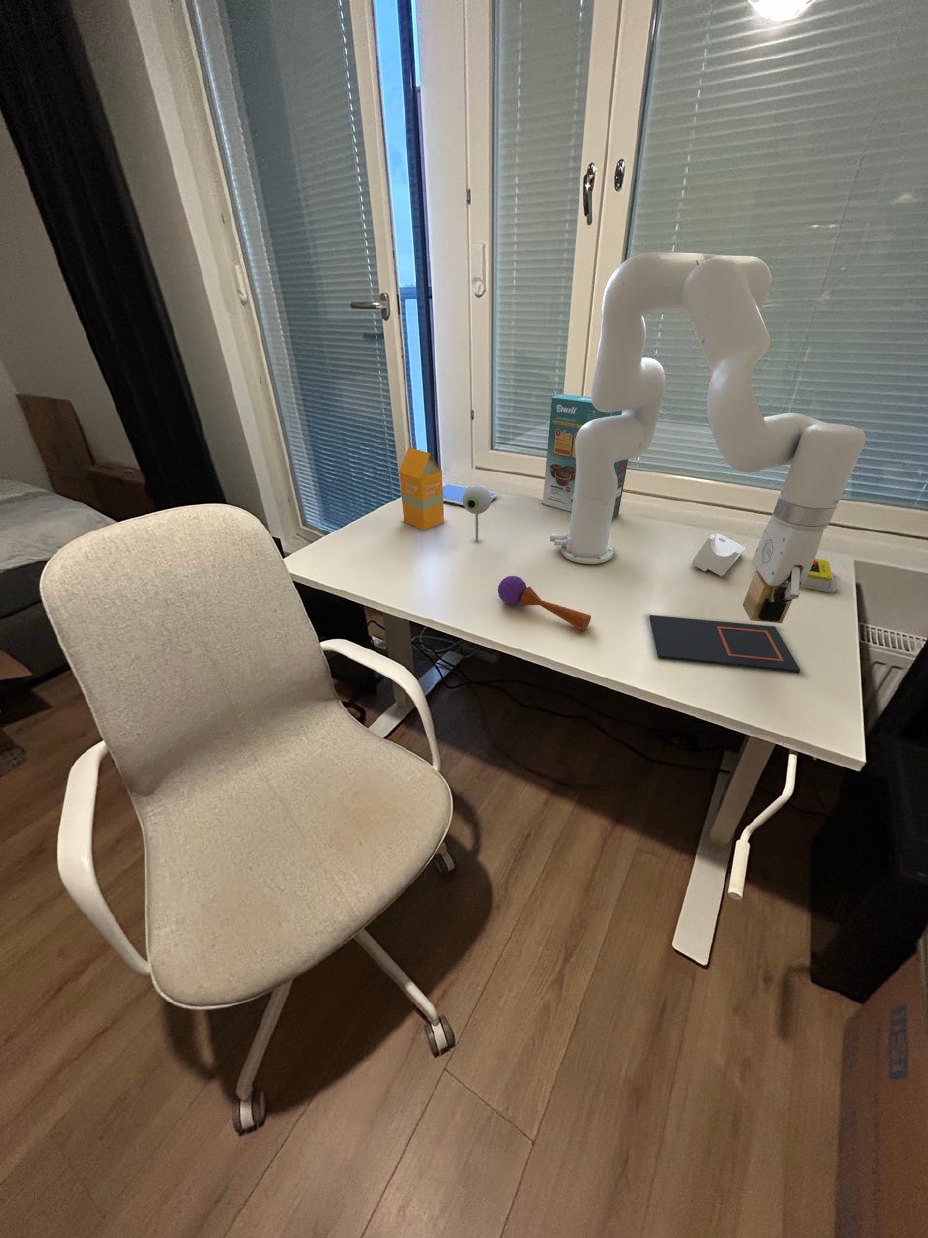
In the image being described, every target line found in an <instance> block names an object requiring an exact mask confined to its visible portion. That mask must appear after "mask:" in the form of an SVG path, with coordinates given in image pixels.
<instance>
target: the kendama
mask: <svg viewBox="0 0 928 1238" xmlns="http://www.w3.org/2000/svg"><path fill="white" fill-rule="evenodd" d="M497 593H498V597H499V598H500V600H501V601H502V602H504V603H505V604H508V605H518V604H520V606H524V607H525V606H540V607H541V608H543V609H545V610H547V611H548V612H550V613H551V614H552V615H555V616H557V617H559V618H560V619H562V620H563V621H565V622H567V623H569V624H570V625H572V626H573V627H575V628H577V629H579V630H581V631H582V632H585V631H586V630H587V629H588V627H589V625H590V623H591V619H592V615H591V614H587V613H584V612H581V611H578V610H575V609H572V608H568V607H565V606H562V605H558V604H556V603H553V602H548V601H546V600H542V599H541V597H540V595H538V594H537V593H536V592H535V591H534V590H533V588H532V587H531V586H527V583H526V582H525V580H523V579H522V578H521V577H519V576H517V575H508V576H506V577H504V578H503V579H501V581H500V582H499V584H498V586H497Z"/></svg>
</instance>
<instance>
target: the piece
mask: <svg viewBox="0 0 928 1238" xmlns="http://www.w3.org/2000/svg"><path fill="white" fill-rule="evenodd" d="M783 583H787V580H785V581H784V582H783ZM771 587H772V586H769V585H768V584H767V583H766V582H765V580H764V579H763V577H762V576H761V574H760V573H759V571H757V570H755V571H754V573H753V575H752V579H751V581H750V583H749V586H748V588H747V592H746V594H745V597H744V600H743V602H742V607H743V609H744V611H745V613H746V615H747V616H748V619H749V620H750V622H761V623H773V624H783V622H784V620H785V618H786V616H787V613H788V611H789V609H790V606H791V604H792V602H793V600H794V599H792V600H791V601H790V602H789V603H787V605H786V607H785V609H784V612H783V614H782V616H781V618H780V620H779V621H777V622H776V621H765V620H760V619H759V618H758V616H759V614H760V611H761V609H762V606H763V604H764V601H765V599H769V594H770V590H771ZM785 590H786V588H778V590H777V593H779V592H784V591H785Z"/></svg>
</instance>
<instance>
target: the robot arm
mask: <svg viewBox="0 0 928 1238" xmlns="http://www.w3.org/2000/svg"><path fill="white" fill-rule="evenodd" d="M771 288H772V274H771V270H770V268H769V267H768V265H767V263H766V262H765V261H763V259H761V258H759V257H757V256H751V255H723V254H722V255H721V254H712V253H711V254H710V253H700V252H699V253H698V252H671V251H652V252H651V251H649V252H643V253H639V254H636V255H633V256H631V257H629V258H627V259H625V260H624V261H623V262H622V263H620V264H619V265H618V267H616V269H615V270H614V271H613V272H612V274H611V275H610V278H609V280H608V282H607V284H606V286H605V290H604V293H603V298H602V305H601V306H602V310H601V328H600V329H601V330H600V338H599V343H598V348H597V355H596V358H595V359H596V360H595V366H594V372H593V377H592V383H591V390H590V391H591V393H590V397H591V400H592V404H593V406H594V407H595V408H596V409H597V410H599V411H601V412H617V411H622V415H618V416H610V417H604V418H598V419H594V420H592V421H589V422H588V423H586V424H585V425H583V426H582V427H581V428H580V430H579V431H578V433H577V436H576V440H575V453H576V479H575V488H574V497H573V505H572V512H570V514H571V515H570V523H569V529H567V533H564V532H563V533H562V534H558V533H550V534H549V542H553V545H554V546H560V553H561V555H562V556H563V557H564V558H566V559H567V560H569V561H572V562H575V563H578V564H583V565H599V564H603V563H606V562H608V561H609V560H611V559H612V557H613V554H614V549H613V547H612V546H611V545H610V544H609V540H610V535H611V534H610V533H611V528H612V522H613V519H612V517H613V511H614V505H615V499H616V493H617V487H618V479H617V475H616V472H615V469H614V463H615V462H618V461H621V460H626V459H628V460H630V459H634V458H637V457H639V456H641V455H643V454H644V453H645V452H646V451H647V450H648V449H649V447H650V445H651V443H652V441H653V438H654V435H655V432H656V428H657V423H658V420H659V417H660V413H661V408H662V405H663V401H664V397H665V393H666V383H667V382H666V381H667V380H666V378H667V377H666V373H665V369H664V367H663V365H662V364H661V363H660V362H659V361H658V360H656V359H654V358H651V357H643V355H644V349H645V346H646V341H647V328H646V322H645V318H644V316H643V315H644V314H646V313H661V312H662V313H665V312H686V314H687V317H688V319H689V322H690V324H691V327H692V330H693V332H694V334H695V337H696V339H697V341H698V344H699V346H700V349H701V350H702V353H703V355H704V359H705V361H706V363H707V365H708V368H709V371H710V381H709V385H708V390H707V401H706V403H707V404H706V413H707V414H706V415H707V421H708V426H709V428H710V431H711V433H712V435H713V438H714V441H715V442H716V446H717V447H718V450H719V453H721V456H722V457H723V459H724V460H725V462H726V463H727V464H728V465H729V466H730V467H731V468H732V469H734V470H736V471H737V472H741V473H755V472H759V471H763V470H767V469H770V468H774V467H781V466H789V468H788V472H787V473H786V476H785V478H784V482H783V484H782V487H781V490H780V492H779V495H778V498H777V501H776V502H775V506H774V509H773V511H772V514H771V516H770V519H769V521H768V522H767V524H766V526H765V529H764V530H763V533H762V535H761V537H760V540H759V542H758V544H757V547H756V549H755V551H754V555H753V557H752V562H753V565H754V566H755V568H756V571H757V570H758V571H759V573H760V574H761V576H762V577H763V579H764V580H765V582H766V583H767V584H768V585H769V586H772V587H771V590H770V594H769V599H765V601H764V604H763V606H762V609H761V611H760V614H759V616H758V618H759V619H760V620H765V621H776V622H777V621H779V620H780V618H781V616H782V614H783V612H784V609H785V607H786V605H787V603H789V602H790V601H791V600H792V599H793V600H797V599H798V598H799V597H800V588H802V587H801V586H802V585H803V584H804V582H805V580H806V578H807V576H808V574H809V572H810V569H811V567H812V564H813V562H814V559H816V556H817V554H818V551H819V548H820V544H821V541H822V538H823V534H824V531H825V529H827V528H828V527H829V525H830V522H831V521H832V519H833V516H834V513H835V512H836V509H837V507H838V505H839V502H840V501H841V498H842V496H843V494H844V491H845V489H846V487H847V484H848V482H849V480H850V477H851V476H852V473H853V471H854V469H855V467H856V464H857V462H858V460H859V458H860V456H861V453H862V451H863V449H864V446H865V443H866V440H867V439H866V438H867V436H866V433H865V431H864V430H862V428H858V427H856V426H852V425H848V424H844V423H843V424H841V423H834V422H833V423H831V422H830V423H827V422H824V421H822V420H819V419H816V418H815V417H811V416H809V415H806V414H802V413H798V412H785V413H779V414H775V415H774V414H773V415H767V416H763V414H762V412H761V410H760V407H759V405H758V403H757V400H756V397H755V394H754V389H753V373H754V369H755V366H756V365H757V363H758V361H760V360H761V358H763V357H764V355H766V354H767V352H768V351H769V349H770V346H771V343H772V340H771V335H770V333H769V331H768V328H767V326H766V324H765V322H764V319H763V317H762V314H761V313H760V309H761V308H763V306H764V305H765V303H766V301H767V299H768V298H769V295H770V293H771ZM785 580H787V583H783V582H784V581H785ZM778 588H786V590H785V591H784V592H779V593H777V590H778ZM793 600H792V601H793Z"/></svg>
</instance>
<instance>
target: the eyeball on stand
mask: <svg viewBox="0 0 928 1238" xmlns="http://www.w3.org/2000/svg"><path fill="white" fill-rule="evenodd" d="M466 488H467V489H466V490H465V492H464V494H463V505H462V506H463V507H464V509H465V510H466V511H467V512H469V513H470V514H472V515H475V542H476V543H479V515H481V514H484V513H485V512H486V511H488V509H489V508H490V506H491V503H492V500H491V495H490V493H491V492H490V491H489V489H488V488H487V487H486V486H484V485H482V484H472V485H469V486H468V487H466Z"/></svg>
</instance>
